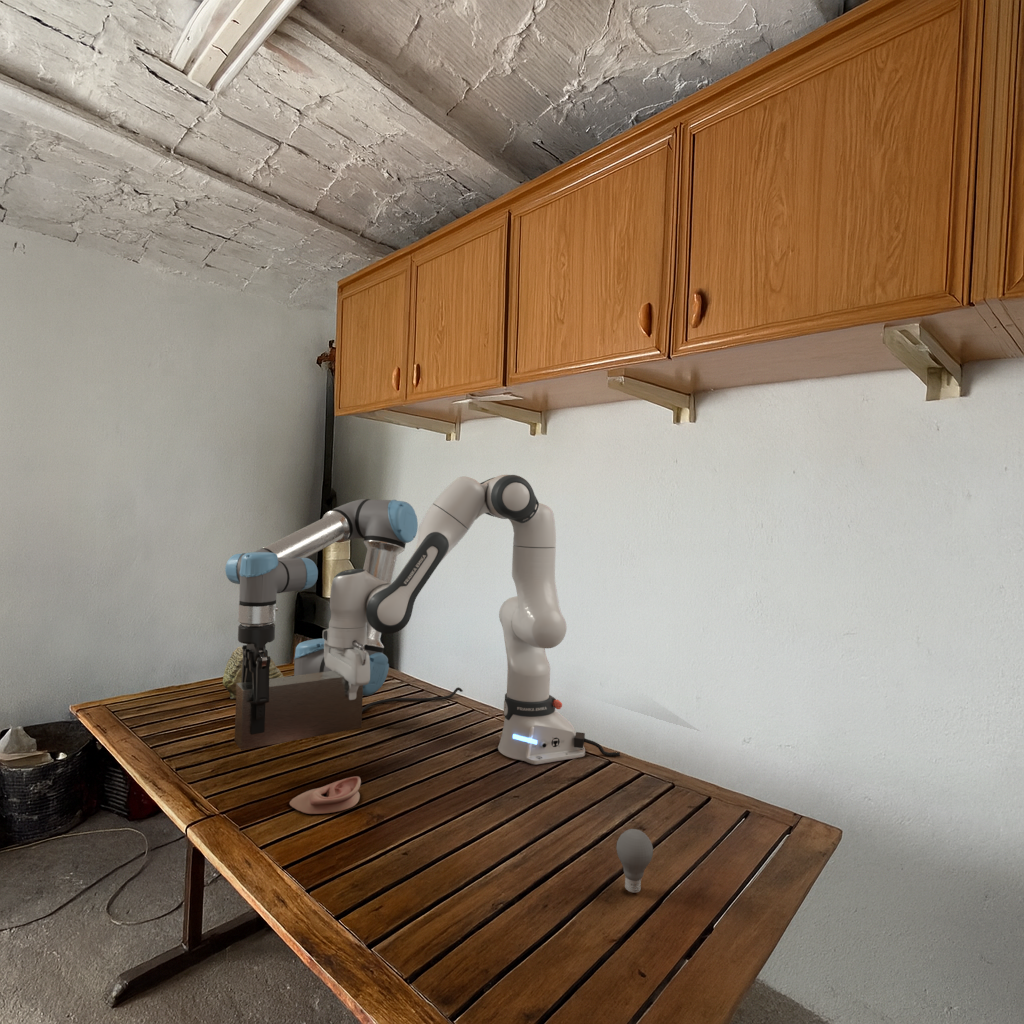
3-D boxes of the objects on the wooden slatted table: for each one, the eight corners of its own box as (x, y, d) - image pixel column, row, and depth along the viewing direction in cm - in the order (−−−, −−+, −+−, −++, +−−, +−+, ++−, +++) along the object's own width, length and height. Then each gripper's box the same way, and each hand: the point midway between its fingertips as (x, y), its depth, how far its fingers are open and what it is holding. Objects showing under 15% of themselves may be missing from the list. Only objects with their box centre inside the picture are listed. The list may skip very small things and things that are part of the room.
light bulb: (610, 879, 108) (613, 822, 108) (644, 879, 109) (647, 822, 109) (619, 902, 102) (622, 840, 102) (655, 901, 103) (658, 840, 103)
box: (241, 750, 135) (243, 690, 135) (234, 741, 140) (236, 683, 139) (361, 727, 151) (363, 673, 151) (351, 720, 156) (353, 667, 155)
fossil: (218, 695, 195) (220, 647, 195) (278, 685, 208) (279, 640, 207) (228, 703, 189) (230, 653, 188) (289, 692, 201) (290, 645, 201)
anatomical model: (281, 790, 127) (311, 767, 138) (281, 810, 127) (310, 785, 138) (342, 799, 124) (367, 775, 136) (342, 819, 124) (367, 793, 136)
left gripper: (287, 629, 133) (283, 739, 134) (262, 614, 148) (259, 712, 149) (250, 633, 129) (246, 745, 129) (228, 616, 144) (225, 717, 144)
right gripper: (378, 644, 145) (375, 705, 145) (344, 627, 161) (342, 681, 161) (351, 647, 141) (349, 709, 141) (320, 630, 157) (317, 685, 158)
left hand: (253, 727), depth 139 cm, fingers closed on box, 6 cm apart
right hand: (345, 694), depth 151 cm, fingers closed on box, 6 cm apart
